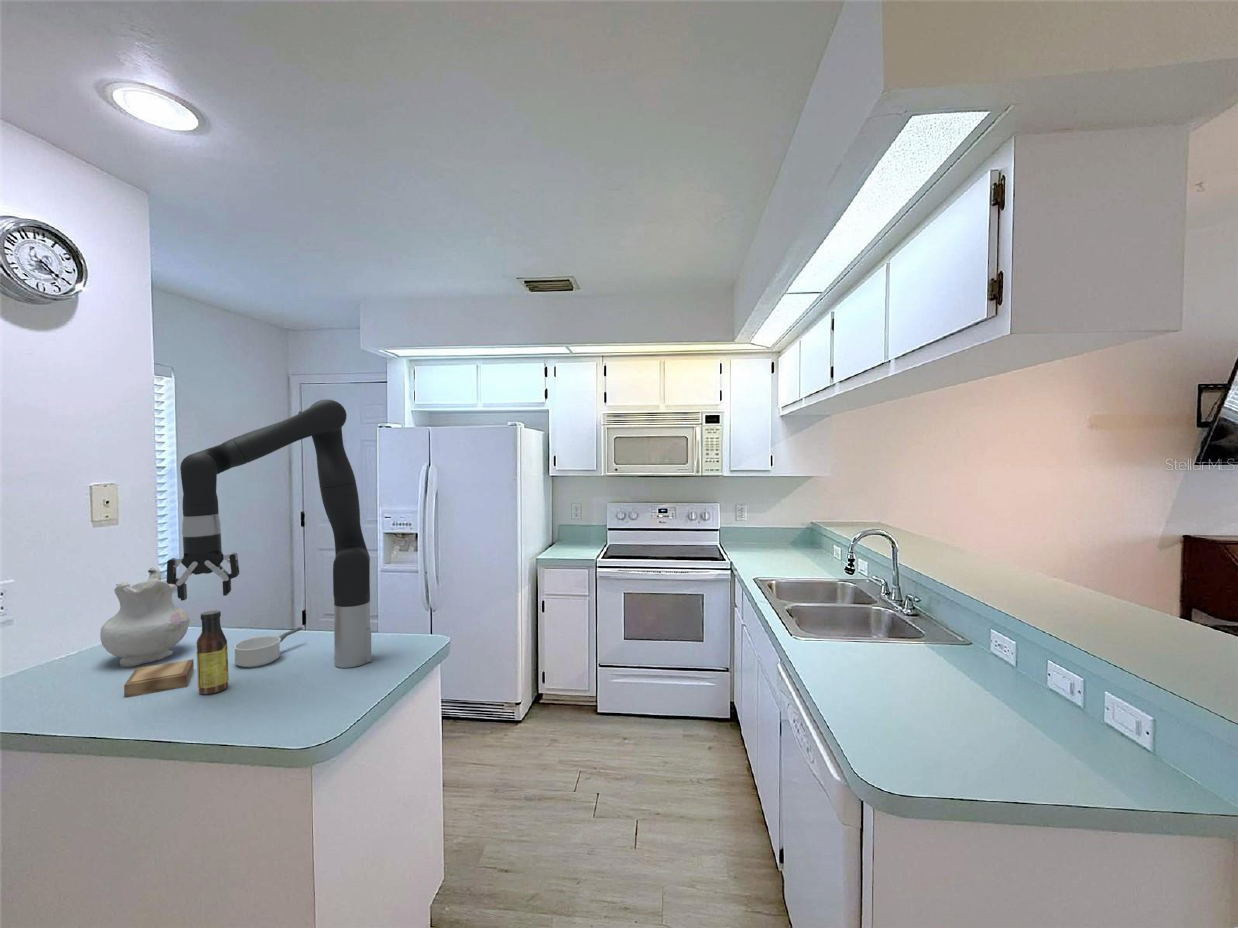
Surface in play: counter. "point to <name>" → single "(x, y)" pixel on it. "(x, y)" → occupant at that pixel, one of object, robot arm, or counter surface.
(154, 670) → the walnut base block
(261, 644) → the saucepan
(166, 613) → the ceramic pitcher
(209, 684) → the sauce bottle
